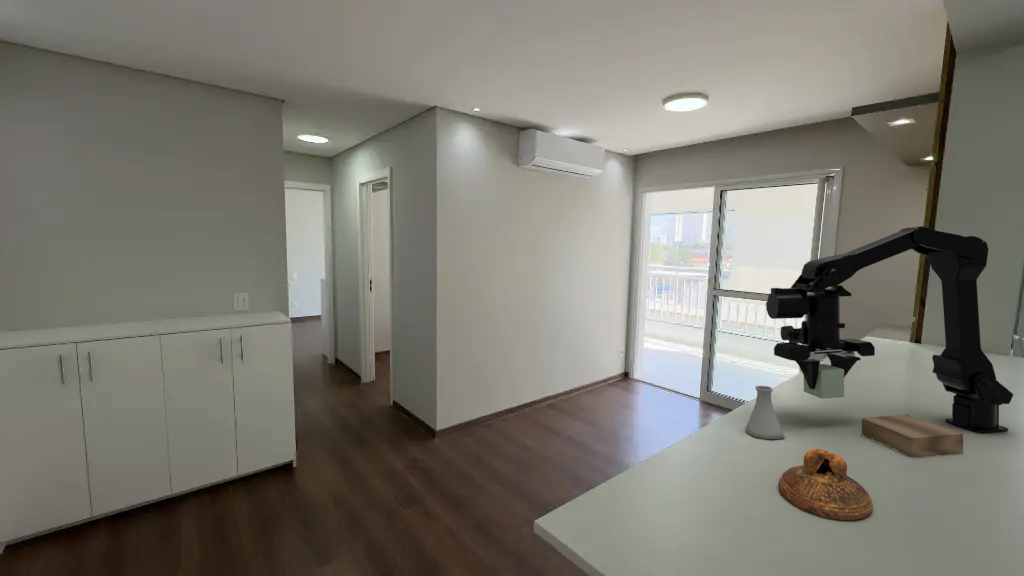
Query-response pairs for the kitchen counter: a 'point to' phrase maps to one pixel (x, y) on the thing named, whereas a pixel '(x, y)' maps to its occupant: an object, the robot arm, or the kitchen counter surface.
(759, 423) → the flask
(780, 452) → the kitchen counter surface
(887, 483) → the kitchen counter surface
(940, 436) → the walnut block
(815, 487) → the brown clay lid
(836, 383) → the sage cube
